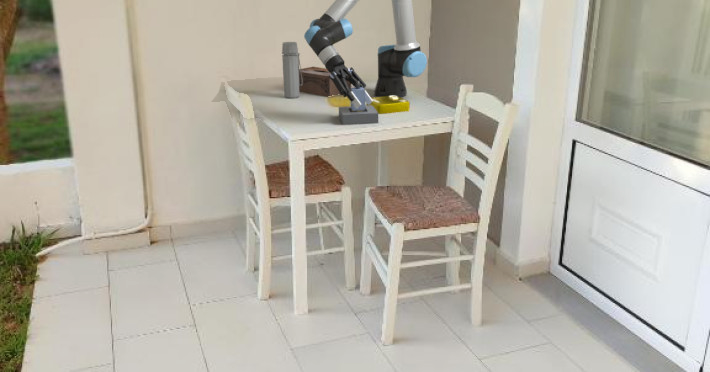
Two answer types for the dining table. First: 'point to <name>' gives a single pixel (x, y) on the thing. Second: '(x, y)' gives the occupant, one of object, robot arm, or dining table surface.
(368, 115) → the socket
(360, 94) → the plug
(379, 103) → the element tile
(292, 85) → the water bottle
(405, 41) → the robot arm
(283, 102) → the dining table surface
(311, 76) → the tissue box cover
